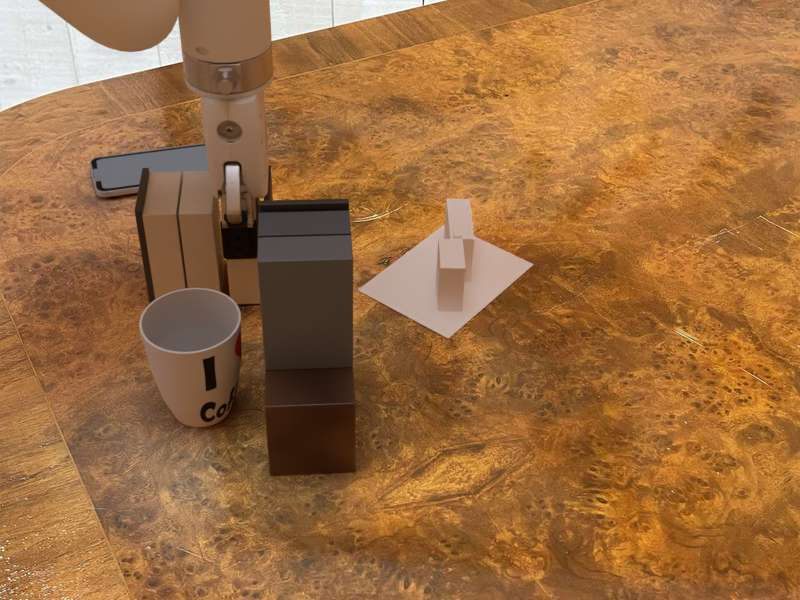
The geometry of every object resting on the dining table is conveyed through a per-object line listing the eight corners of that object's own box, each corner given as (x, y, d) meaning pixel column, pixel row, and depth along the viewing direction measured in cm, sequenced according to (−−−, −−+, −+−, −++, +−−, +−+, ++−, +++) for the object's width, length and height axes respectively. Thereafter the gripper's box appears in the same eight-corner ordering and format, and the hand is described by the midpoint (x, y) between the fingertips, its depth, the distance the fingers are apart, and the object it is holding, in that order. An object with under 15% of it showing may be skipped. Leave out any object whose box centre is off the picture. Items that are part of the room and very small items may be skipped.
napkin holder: (444, 222, 114) (447, 177, 111) (534, 263, 109) (541, 218, 106) (356, 290, 105) (356, 244, 102) (450, 339, 100) (453, 292, 96)
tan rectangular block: (262, 303, 103) (255, 210, 96) (230, 304, 103) (221, 211, 96) (263, 259, 108) (256, 167, 101) (233, 260, 108) (224, 168, 101)
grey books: (265, 370, 85) (256, 256, 77) (266, 312, 90) (258, 200, 83) (353, 367, 85) (353, 253, 78) (349, 309, 91) (348, 198, 83)
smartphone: (234, 174, 119) (96, 193, 115) (234, 181, 120) (97, 201, 115) (220, 140, 124) (88, 157, 120) (220, 147, 125) (89, 164, 121)
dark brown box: (269, 475, 87) (264, 407, 82) (270, 373, 96) (266, 305, 91) (355, 472, 87) (355, 403, 82) (348, 370, 97) (348, 303, 91)
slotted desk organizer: (150, 309, 102) (134, 210, 95) (156, 264, 108) (142, 167, 100) (276, 305, 103) (270, 207, 96) (276, 260, 109) (270, 164, 101)
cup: (211, 454, 88) (199, 366, 82) (134, 417, 91) (117, 330, 85) (267, 394, 94) (260, 308, 87) (193, 361, 97) (181, 276, 90)
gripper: (272, 114, 84) (282, 288, 95) (273, 17, 97) (282, 180, 109) (175, 116, 83) (197, 291, 95) (190, 17, 97) (207, 182, 108)
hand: (242, 231), depth 102 cm, fingers closed on tan rectangular block, 7 cm apart
